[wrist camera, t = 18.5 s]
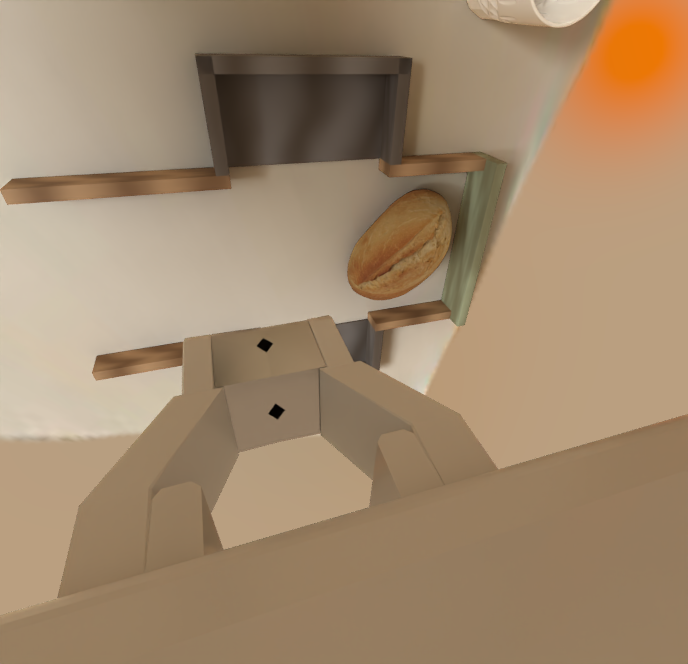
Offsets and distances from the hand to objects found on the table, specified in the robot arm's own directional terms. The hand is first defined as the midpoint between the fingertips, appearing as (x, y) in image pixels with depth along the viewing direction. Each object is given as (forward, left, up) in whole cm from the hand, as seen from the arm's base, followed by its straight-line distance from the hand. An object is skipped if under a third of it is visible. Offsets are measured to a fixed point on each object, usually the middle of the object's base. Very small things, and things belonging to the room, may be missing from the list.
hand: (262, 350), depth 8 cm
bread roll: (+19, -14, -35) cm, 43 cm away
